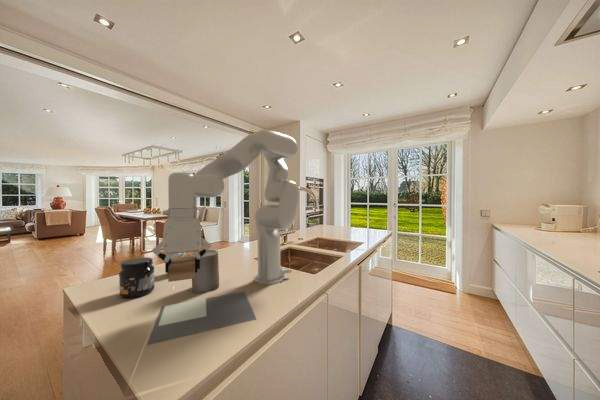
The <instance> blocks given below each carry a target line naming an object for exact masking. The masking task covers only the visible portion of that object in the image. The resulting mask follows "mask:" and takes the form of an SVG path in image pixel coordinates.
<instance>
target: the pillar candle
mask: <svg viewBox="0 0 600 400" xmlns="http://www.w3.org/2000/svg"><path fill="white" fill-rule="evenodd" d="M200 251H201V250H199V252H200ZM193 255H195V254H194V252H192V253H191V254H190V256H193ZM219 266H220V265H219V251H218V250H216V249H215V250H213V249H208V250H207V251H206V253H205V254H204V255H203V256H202V257H201V258H200V269H197V273H195V278H194V279H191V291H192V293H199V294H202V293H203V294H204V293H209V292H213V291H215V290H217V289H218V288H219V286H220V272H219V271H220V270H219V269H220V268H219Z"/></svg>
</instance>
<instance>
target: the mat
mask: <svg viewBox="0 0 600 400" xmlns="http://www.w3.org/2000/svg"><path fill="white" fill-rule="evenodd" d="M255 320H257V318H256V315H255V312H254V310H253V308H252V306H251V304H250V302H249V299H248V297H247V295H246V292H245V291H239V292H235V293H229V294H228V293H227V294H224V295H223V294H222V295H217V296H213V297H212V296H211V297H207V298H201V299H195V300H190V301H183V302H179V303H174V304H168V305H167V304H166V305H162V306H161V307H160V310H159V313H158V315H157V317H156V321H155V324H154V326H153V328H152V331H151V334H150V337H149V339H148V341H147V344H146V345H147V346H149V345H150V346H151V345H153V344H157V343H161V342H166V341H171V340H174V339H178V338H179V339H180V338H183V337H187V336H191V335H195V334H200V333H205V332H209V331H214V330H218V329H221V328H225V327H230V326H233V325H238V324H239V325H240V324H242V323H246V322H250V321H255Z"/></svg>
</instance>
